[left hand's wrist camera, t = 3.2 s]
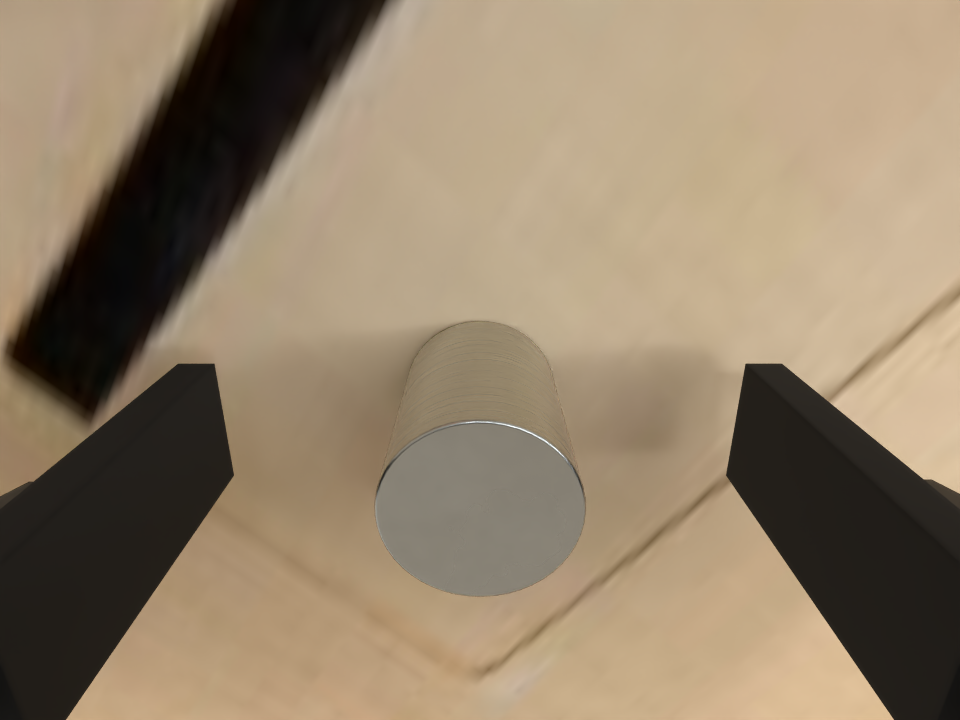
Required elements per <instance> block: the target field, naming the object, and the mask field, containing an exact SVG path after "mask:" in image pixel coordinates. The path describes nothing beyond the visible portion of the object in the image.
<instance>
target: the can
mask: <svg viewBox="0 0 960 720" xmlns="http://www.w3.org/2000/svg"><path fill="white" fill-rule="evenodd" d="M585 514H586V499H585V494H584V488H583V484H582V481H581V477H580V474H579V470H578V467H577V463H576V459H575V456H574V452H573V449H572V445H571V441H570V438H569V434H568V431H567V427H566V423H565V420H564V416H563V413H562V409H561V405H560V402H559V398H558V395H557V391H556V387H555V384H554V380H553V377H552V373H551V370H550V367H549V364H548V362H547V360H546V358H545V356H544V355H543V353H542V352H541V350H540V349H539V348H538V347H537V346H536V345H535V343H534V342H533V341H532V340H530V339H529V338H528V337H527V336H525V335H524V334H522V333H521V332H519V331H517V330H515V329H513V328H511V327H509V326H506V325H502V324H499V323H494V322H485V321H475V322H466V323H462V324H458V325H455V326H452V327H449V328H447V329H445V330H443V331H441V332H440V333H438V334H437V335H435V336H434V337H432V338H431V339H430V340H429V341H428V342H427V343H426V344H425V345H424V346H423V347H422V348H421V350H420V351H419V352H418V354H417V355H416V357H415V359H414V361H413V363H412V365H411V368H410V372H409V375H408V379H407V382H406V386H405V389H404V393H403V397H402V400H401V404H400V407H399V411H398V415H397V418H396V422H395V425H394V429H393V433H392V436H391V440H390V443H389V447H388V451H387V454H386V458H385V462H384V465H383V469H382V472H381V476H380V480H379V483H378V487H377V490H376V496H375V518H376V524H377V528H378V531H379V534H380V536H381V539H382V541H383V543H384V545H385V547H386V548H387V550H388V551H389V553H390V554H391V556H392V557H393V558H394V560H395V561H396V562H397V563H398V564H399V565H400V566H401V567H402V568H403V569H405V570H406V571H407V572H408V573H409V574H411V575H412V576H413V577H415V578H417V579H418V580H420V581H421V582H423V583H425V584H427V585H429V586H431V587H434V588H436V589H439V590H442V591H445V592H449V593H453V594H457V595H465V596H480V597H484V596H497V595H502V594H508V593H512V592H515V591H518V590H522V589H524V588H526V587H529V586H531V585H533V584H535V583H537V582H539V581H541V580H542V579H544V578H545V577H547V576H548V575H550V574H551V573H553V572H554V571H555V570H556V569H557V568H558V567H559V566H560V565H561V564H562V563H563V562H564V561H565V560H566V559H567V557H568V556H569V555H570V554H571V552H572V550H573V549H574V547H575V546H576V544H577V542H578V539H579V537H580V535H581V533H582V529H583V525H584V522H585Z"/></svg>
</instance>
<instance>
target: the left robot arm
mask: <svg viewBox="0 0 960 720" xmlns="http://www.w3.org/2000/svg"><path fill="white" fill-rule="evenodd" d="M233 476H234V473H233V468H232V462H231V456H230V450H229V445H228V439H227V433H226V427H225V422H224V416H223V410H222V405H221V399H220V393H219V387H218V382H217V376H216V370H215V364H177V365H176V366H175V367H174V368H172V369H171V370H170V371H169V372H168V373H166V374H165V375H164V376H163V377H161V378H160V379H159V380H158V381H157V382H155V383H154V384H153V385H152V386H150V387H149V388H148V389H147V390H145V391H144V392H143V393H142V394H141V395H139V396H138V397H137V398H136V399H134V400H133V401H132V402H131V403H130V404H128V405H127V406H126V407H125V408H123V409H122V410H121V411H120V412H119V413H117V414H116V415H115V416H114V417H112V418H111V419H110V420H109V421H108V422H106V423H105V424H104V425H103V426H101V427H100V428H99V429H98V430H96V431H95V432H94V433H93V434H92V435H90V436H89V437H88V438H87V439H85V440H84V441H83V442H82V443H81V444H79V445H78V446H77V447H76V448H74V449H73V450H72V451H71V452H70V453H68V454H67V455H66V456H65V457H63V458H62V459H61V460H60V461H59V462H57V463H56V464H55V465H54V466H52V467H51V468H50V469H49V470H47V471H46V472H45V473H44V474H43V475H41V476H40V477H39V478H38V479H36V480H35V481H34V482H28V483H26V484H24V485H22V486H20V487H18V488H16V489H14V490H12V491H10V492H8V493H6V494H4V495H2V496H0V720H66V719H67V717H68V716H69V715H70V713H71V712H72V710H73V709H74V707H75V706H76V704H77V703H78V701H79V700H80V699H81V697H82V696H83V694H84V693H85V691H86V690H87V688H88V687H89V685H90V684H91V683H92V681H93V680H94V678H95V677H96V675H97V674H98V672H99V671H100V669H101V668H102V667H103V665H104V664H105V662H106V661H107V659H108V658H109V656H110V655H111V653H112V652H113V651H114V649H115V648H116V646H117V645H118V643H119V642H120V640H121V639H122V637H123V636H124V635H125V633H126V632H127V630H128V629H129V627H130V626H131V624H132V623H133V621H134V620H135V619H136V617H137V616H138V614H139V613H140V611H141V610H142V608H143V607H144V605H145V604H146V603H147V601H148V600H149V598H150V597H151V595H152V594H153V592H154V591H155V589H156V588H157V587H158V585H159V584H160V582H161V581H162V579H163V578H164V576H165V575H166V573H167V572H168V571H169V569H170V568H171V566H172V565H173V563H174V562H175V560H176V559H177V557H178V556H179V555H180V553H181V552H182V550H183V549H184V547H185V546H186V544H187V543H188V541H189V540H190V539H191V537H192V536H193V534H194V533H195V531H196V530H197V528H198V527H199V525H200V524H201V523H202V521H203V520H204V518H205V517H206V515H207V514H208V512H209V511H210V509H211V508H212V507H213V505H214V504H215V502H216V501H217V499H218V498H219V496H220V495H221V493H222V492H223V491H224V489H225V488H226V486H227V485H228V483H229V482H230V480H231V479H232V477H233ZM726 476H727V477H728V479H729V480H730V482H731V483H732V485H733V486H734V488H735V489H736V490H737V492H738V493H739V495H740V496H741V498H742V499H743V501H744V502H745V504H746V505H747V506H748V508H749V509H750V511H751V512H752V514H753V515H754V517H755V518H756V520H757V521H758V522H759V524H760V525H761V527H762V528H763V530H764V531H765V533H766V534H767V536H768V537H769V538H770V540H771V541H772V543H773V544H774V546H775V547H776V549H777V550H778V552H779V553H780V554H781V556H782V557H783V559H784V560H785V562H786V563H787V565H788V566H789V568H790V569H791V570H792V572H793V573H794V575H795V576H796V578H797V579H798V581H799V582H800V584H801V585H802V586H803V588H804V589H805V591H806V592H807V594H808V595H809V597H810V598H811V600H812V601H813V602H814V604H815V605H816V607H817V608H818V610H819V611H820V613H821V614H822V616H823V617H824V618H825V620H826V621H827V623H828V624H829V626H830V627H831V629H832V630H833V632H834V633H835V634H836V636H837V637H838V639H839V640H840V642H841V643H842V645H843V646H844V648H845V649H846V650H847V652H848V653H849V655H850V656H851V658H852V659H853V661H854V662H855V664H856V665H857V666H858V668H859V669H860V671H861V672H862V674H863V675H864V677H865V678H866V680H867V681H868V682H869V684H870V685H871V687H872V688H873V690H874V691H875V693H876V694H877V696H878V697H879V698H880V700H881V701H882V703H883V704H884V706H885V707H886V709H887V710H888V712H889V713H890V714H891V716H892V717H893V719H894V720H960V494H959V493H957V492H955V491H953V490H951V489H949V488H947V487H945V486H943V485H941V484H939V483H937V482H935V481H933V480H924V479H922V478H921V477H920V476H919V475H917V474H916V473H915V472H914V471H913V470H911V469H910V468H909V467H908V466H906V465H905V464H904V463H903V462H901V461H900V460H899V459H898V458H897V457H895V456H894V455H893V454H892V453H890V452H889V451H888V450H887V449H886V448H884V447H883V446H882V445H881V444H879V443H878V442H877V441H876V440H875V439H873V438H872V437H871V436H870V435H868V434H867V433H866V432H865V431H864V430H862V429H861V428H860V427H859V426H857V425H856V424H855V423H854V422H852V421H851V420H850V419H849V418H848V417H846V416H845V415H844V414H843V413H841V412H840V411H839V410H838V409H837V408H835V407H834V406H833V405H832V404H830V403H829V402H828V401H827V400H826V399H824V398H823V397H822V396H821V395H819V394H818V393H817V392H816V391H815V390H813V389H812V388H811V387H810V386H808V385H807V384H806V383H805V382H803V381H802V380H801V379H800V378H799V377H797V376H796V375H795V374H794V373H792V372H791V371H790V370H789V369H788V368H786V367H785V366H784V365H783V364H745V370H744V376H743V382H742V387H741V393H740V399H739V405H738V410H737V416H736V422H735V427H734V433H733V439H732V445H731V450H730V456H729V462H728V468H727V473H726Z"/></svg>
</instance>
